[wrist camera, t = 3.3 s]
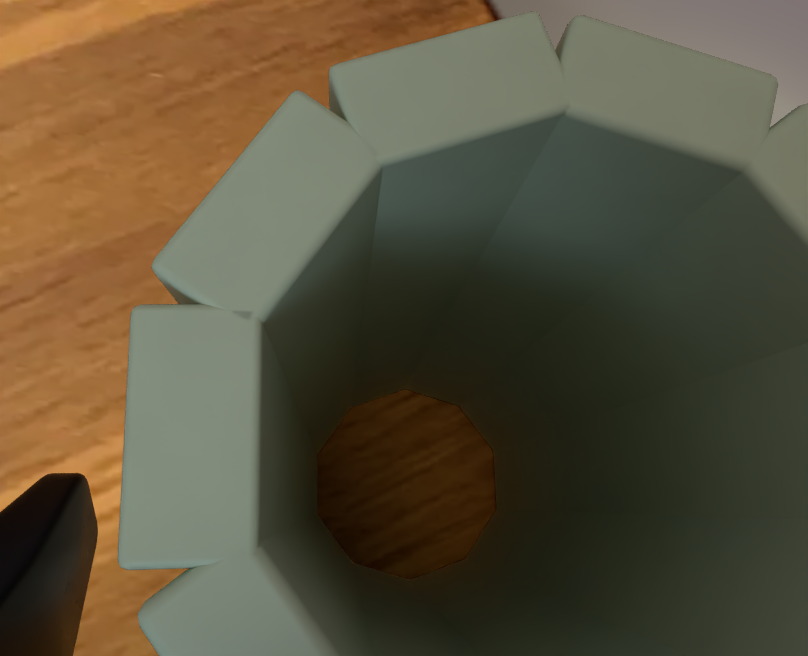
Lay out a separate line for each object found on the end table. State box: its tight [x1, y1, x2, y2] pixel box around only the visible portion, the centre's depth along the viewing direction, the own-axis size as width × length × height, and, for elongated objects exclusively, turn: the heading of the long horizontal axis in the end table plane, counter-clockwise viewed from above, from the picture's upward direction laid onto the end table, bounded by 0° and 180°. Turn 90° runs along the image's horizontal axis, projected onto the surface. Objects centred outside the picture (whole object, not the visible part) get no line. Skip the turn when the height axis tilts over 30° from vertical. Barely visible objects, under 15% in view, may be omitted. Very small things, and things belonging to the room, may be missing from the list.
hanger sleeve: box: [118, 12, 808, 656], centre depth 11 cm, size 6×6×13 cm
